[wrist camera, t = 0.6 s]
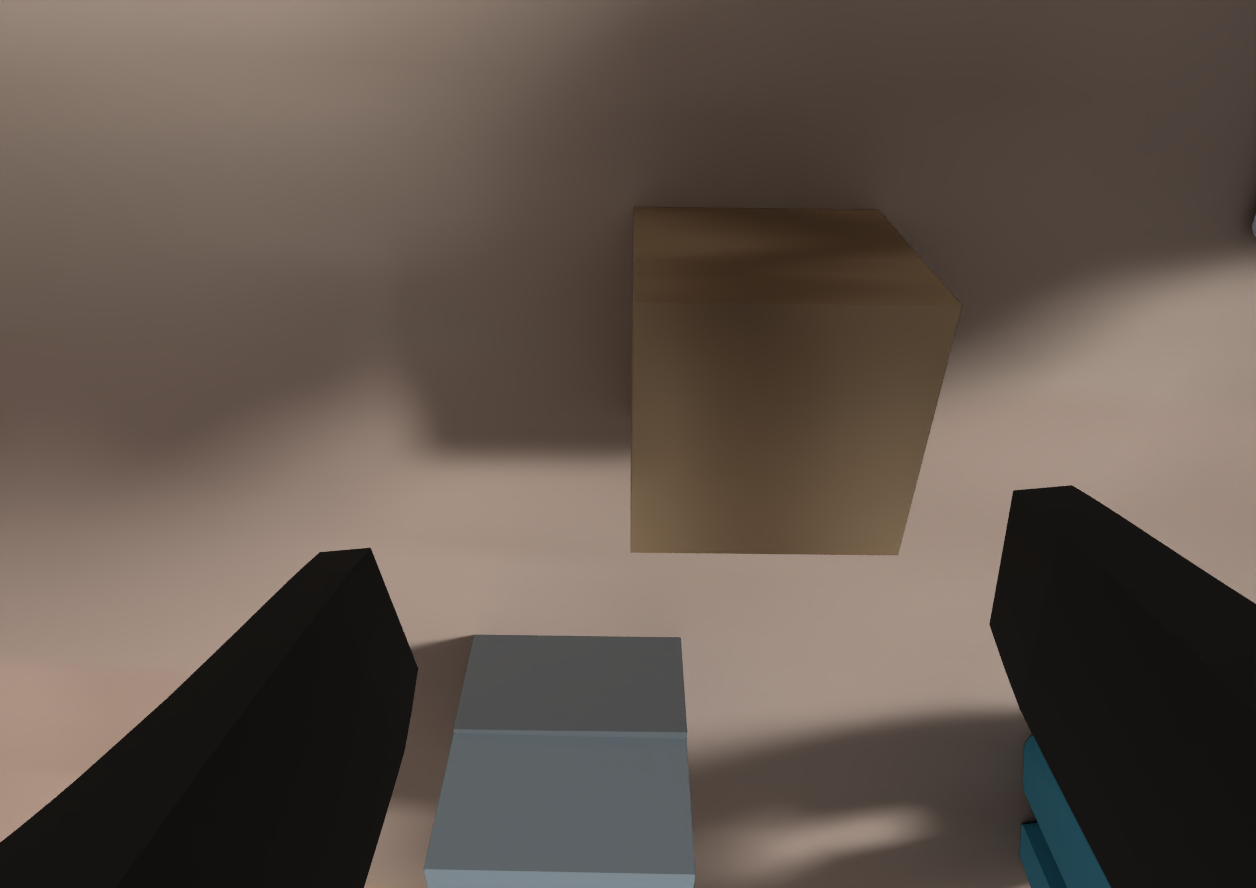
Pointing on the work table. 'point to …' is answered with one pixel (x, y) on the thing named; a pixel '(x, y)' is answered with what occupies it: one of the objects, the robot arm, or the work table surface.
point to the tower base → (573, 687)
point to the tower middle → (563, 814)
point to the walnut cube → (780, 380)
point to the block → (1053, 833)
